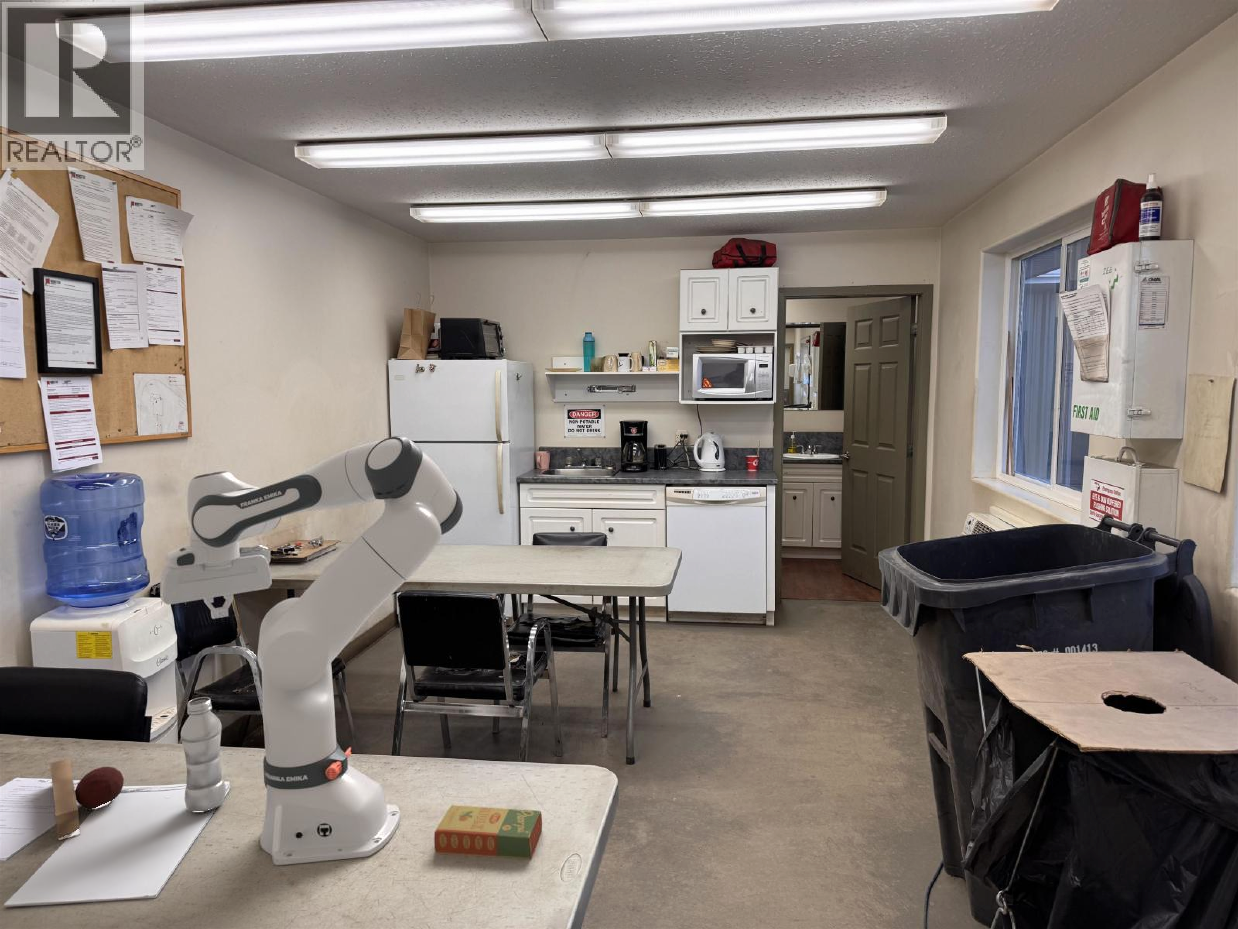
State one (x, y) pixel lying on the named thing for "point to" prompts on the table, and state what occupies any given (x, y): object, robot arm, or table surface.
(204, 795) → the plastic bottle
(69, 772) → the board
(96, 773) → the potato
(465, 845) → the carton
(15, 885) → the table surface
